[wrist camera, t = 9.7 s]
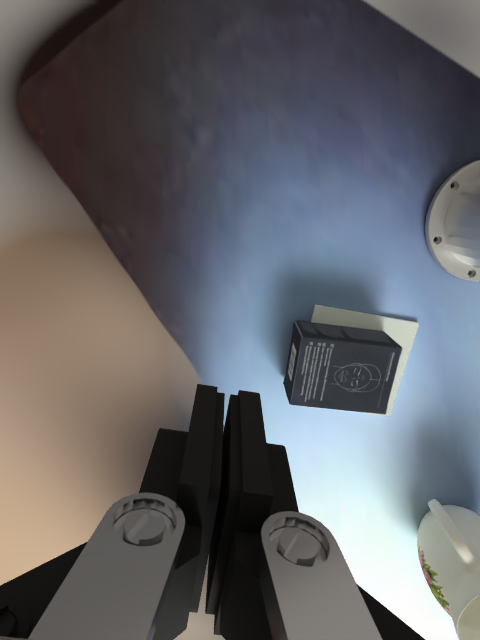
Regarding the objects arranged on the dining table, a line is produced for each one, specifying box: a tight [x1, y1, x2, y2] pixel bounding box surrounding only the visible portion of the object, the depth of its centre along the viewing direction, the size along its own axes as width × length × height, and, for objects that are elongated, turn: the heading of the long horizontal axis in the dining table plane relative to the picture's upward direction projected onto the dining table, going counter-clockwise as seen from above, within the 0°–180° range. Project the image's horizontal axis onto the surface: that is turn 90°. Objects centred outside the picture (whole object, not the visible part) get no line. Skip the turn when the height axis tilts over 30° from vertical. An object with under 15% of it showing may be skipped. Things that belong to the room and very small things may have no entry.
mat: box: [311, 304, 419, 416], centre depth 48 cm, size 12×12×1 cm
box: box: [283, 321, 403, 415], centre depth 45 cm, size 8×6×11 cm
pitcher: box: [417, 499, 480, 640], centre depth 49 cm, size 11×18×14 cm, turn 32°
